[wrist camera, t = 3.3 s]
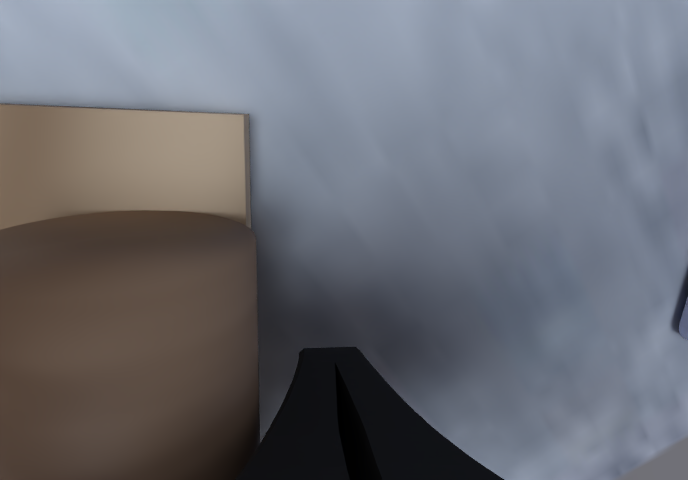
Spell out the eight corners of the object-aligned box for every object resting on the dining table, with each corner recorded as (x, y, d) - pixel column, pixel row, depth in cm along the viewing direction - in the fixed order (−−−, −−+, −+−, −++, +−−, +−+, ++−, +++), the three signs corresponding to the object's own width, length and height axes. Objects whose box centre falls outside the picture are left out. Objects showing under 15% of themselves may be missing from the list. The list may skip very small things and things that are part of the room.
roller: (-137, 256, 6) (134, 201, 10) (-18, 651, 8) (162, 481, 12) (79, 334, 4) (303, 230, 8) (151, 804, 6) (298, 549, 10)
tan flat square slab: (248, 114, 10) (243, 114, 9) (257, 516, 13) (254, 554, 12) (-342, 88, 8) (-443, 85, 7) (-159, 547, 12) (-207, 594, 11)
